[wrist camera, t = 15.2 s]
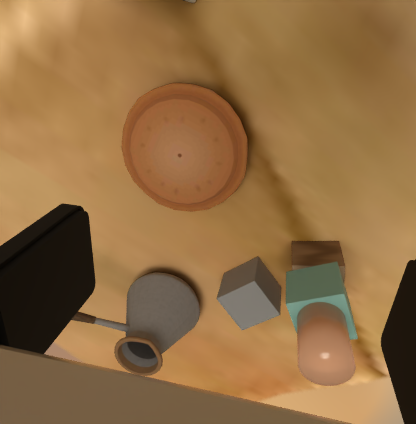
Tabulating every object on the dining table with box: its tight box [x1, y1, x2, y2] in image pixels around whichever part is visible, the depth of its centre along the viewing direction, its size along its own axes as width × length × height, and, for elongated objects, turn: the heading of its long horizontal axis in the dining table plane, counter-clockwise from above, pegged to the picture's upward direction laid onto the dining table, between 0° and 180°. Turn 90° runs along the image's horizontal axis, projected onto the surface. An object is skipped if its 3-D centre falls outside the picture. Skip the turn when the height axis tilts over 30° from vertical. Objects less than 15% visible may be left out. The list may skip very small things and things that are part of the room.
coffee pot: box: [71, 272, 200, 376], centre depth 49 cm, size 21×12×15 cm, turn 58°
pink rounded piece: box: [297, 302, 356, 386], centre depth 35 cm, size 5×5×6 cm
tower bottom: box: [292, 241, 345, 282], centre depth 46 cm, size 6×6×6 cm
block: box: [217, 257, 281, 330], centre depth 49 cm, size 6×6×6 cm
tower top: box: [286, 262, 358, 340], centre depth 40 cm, size 6×6×6 cm
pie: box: [122, 83, 247, 211], centre depth 43 cm, size 16×16×5 cm
